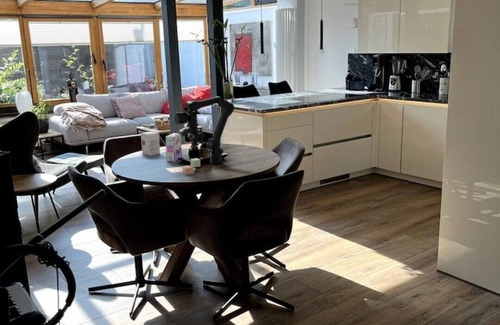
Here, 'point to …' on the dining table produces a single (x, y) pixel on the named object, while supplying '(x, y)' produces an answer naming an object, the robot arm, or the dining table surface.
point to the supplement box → (150, 143)
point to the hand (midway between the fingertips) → (194, 147)
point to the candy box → (173, 147)
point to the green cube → (195, 162)
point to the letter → (175, 169)
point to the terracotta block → (187, 170)
